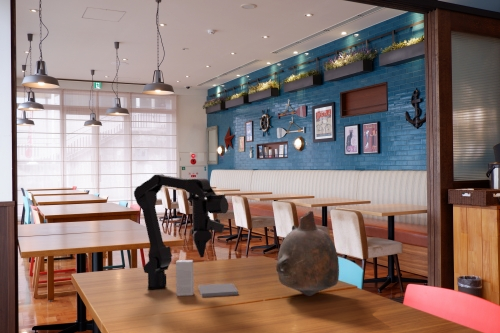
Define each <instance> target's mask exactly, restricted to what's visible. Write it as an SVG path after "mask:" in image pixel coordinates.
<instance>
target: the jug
mask: <svg viewBox="0 0 500 333" xmlns="http://www.w3.org/2000/svg"><path fill="white" fill-rule="evenodd" d="M314 215H315V214H314V211H312V210H309V211H308V212H306V213H305V214H304V215H302V216H301V217H300V218H299V224H298V226H297V225H295V224H293V225H292V227H291V230H290V231H289V232H288V234H286V236H284V239H283V241H282V242H281V243H280V247H279V251H278V257H277V262H276V268H275V269H276V271H277V276H278V280H279V282H280V284H281V285H282V286H285V287H287V288H290V289H293V290H295V291H298V292H300V293H301V294H303V295H305V296H307V297H311V296H314V295H315V294H317V293H319V292H322V291H324V290H327V289H330V288H332V287H334V286H336V285H337V284H338V282H339V278H340V263H339V257H338V252H337V249H336V246H335V243H334V241H333V239H332V238H331V236H330V235H329V234H328V233H327V232H326V231H324V230H323V229H320V228H318V227H317V226H316V223H315V222H316V220H315V217H314Z"/></svg>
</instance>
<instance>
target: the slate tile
mask: <svg viewBox="0 0 500 333" xmlns="http://www.w3.org/2000/svg"><path fill="white" fill-rule="evenodd" d="M198 291H199V293H200V296H201V297H202V298H209V297H210V298H211V297H222V296H223V297H225V296H238V295H239V290H238V288H236V285H235V284H234V283H232V282H230V283H213V284H198Z"/></svg>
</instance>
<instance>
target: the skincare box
mask: <svg viewBox="0 0 500 333" xmlns="http://www.w3.org/2000/svg"><path fill="white" fill-rule="evenodd" d="M175 278H176V279H175V280H176V283H175V286H176V288H175V289H176V290H175V293H176V296H178V297H181V296H183V297H184V296H193V295H194V292H195V291H194V290H195V288H194V286H195V285H194V260H193V259H185V260H184V259H183V260H181V259H179V260H176V262H175Z"/></svg>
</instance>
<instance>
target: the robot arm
mask: <svg viewBox="0 0 500 333" xmlns="http://www.w3.org/2000/svg"><path fill="white" fill-rule="evenodd" d="M163 187H169V188H172V189H173V188H175V189H180V190H184V191H185V192H187V193H189V194H190V196H188V198H186V201H188V202H191V203H192V207H191V208H192V227H191V228H190V234H191V238H192V240H193V243H194V245H195V247H196V250H197V253H198V255H199V257H200V258H204V256H205V251H206V247H207V243H208V242H209V241H210V240H212V239H213V234H212V233H213V232H211V230H212V231H215V232H218V233H220V234H222V233H223V232H224V228H225V224H224V223H221V220H220V219H218V218H215V219H214V220H213V219H211V217H210V216H209V214H222V215H224V214H226V213H228V211H229V204H230V203H229V200H228V199H227V198H226V194H225V193H224V194H223V193H222V194H216V192H215V191H214V189H213V188H212V186H211V183H210V181H209V180H208V179H207V178H189V179H188V178H182V177H176V176H170V175H165V174H154V175H152V176H151V177H150V178H149V179H148V180H146V181H144V182H143V183H141V184H140V185H138V186H136V187H135V189H134V191H133V196H134V198H135V202H136V203H137V205H138V206H139V208H140V209H141V210H142V215H143V219H144V222H145V223H144V224H145V227H146V231H147V236H148V241H149V247H150V248H149V250H148V261H147V262H146V264H145V265H143V267H142V269H143V272H144V273H145V274H147V290H162V289H163V290H164V289H166V287H167V274H166V273H165V272H166V271H167V270H169V267H170V264H171V263H172V257H173V254H172V251H171V247H170V246H166V244H165V243H164V240H163V236H162V231H161V227H160V224H159V223H160V222H159V218H158V214H157V210H156V205H157V200H158V193H159V192H160V191H161V190H162V188H163Z"/></svg>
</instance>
